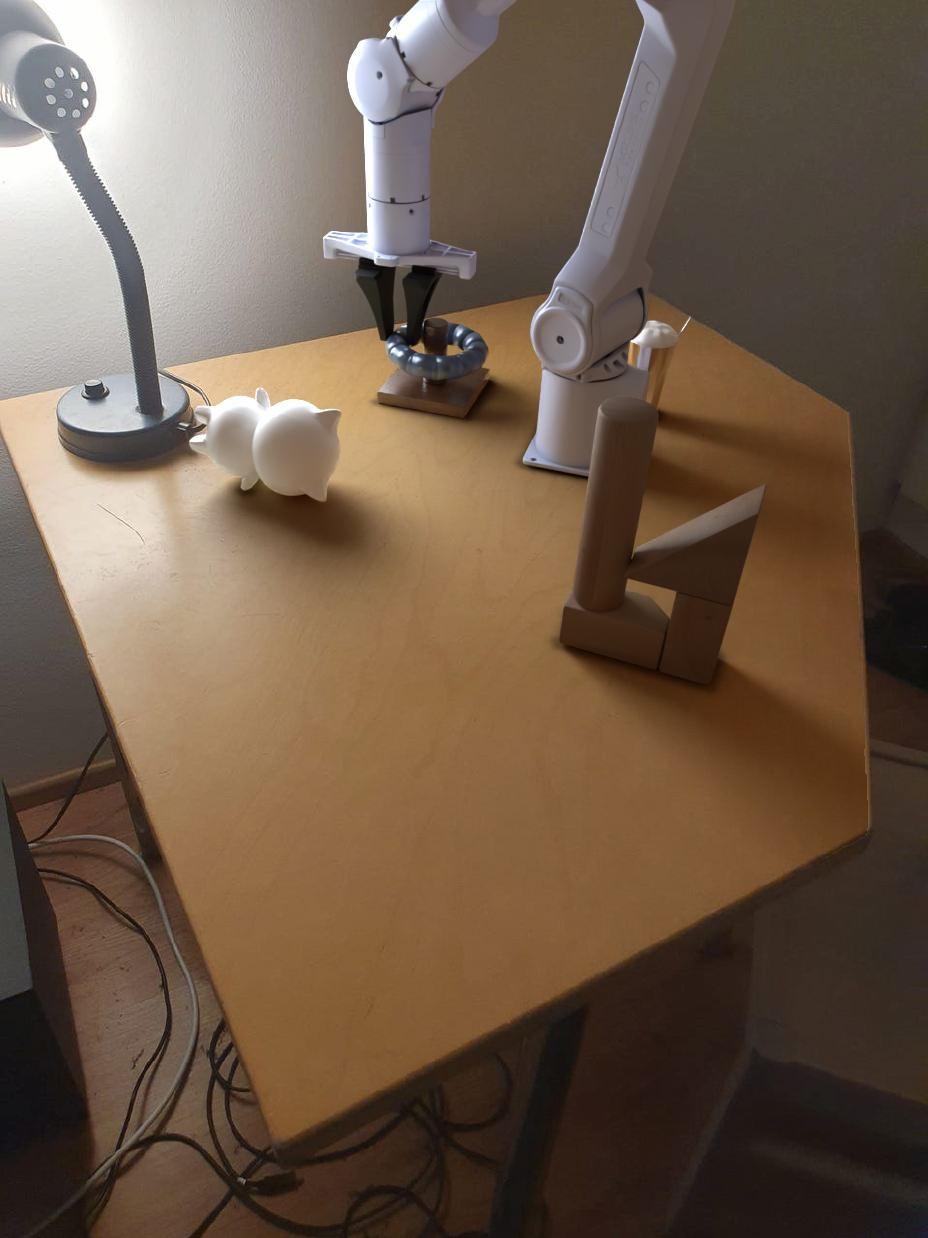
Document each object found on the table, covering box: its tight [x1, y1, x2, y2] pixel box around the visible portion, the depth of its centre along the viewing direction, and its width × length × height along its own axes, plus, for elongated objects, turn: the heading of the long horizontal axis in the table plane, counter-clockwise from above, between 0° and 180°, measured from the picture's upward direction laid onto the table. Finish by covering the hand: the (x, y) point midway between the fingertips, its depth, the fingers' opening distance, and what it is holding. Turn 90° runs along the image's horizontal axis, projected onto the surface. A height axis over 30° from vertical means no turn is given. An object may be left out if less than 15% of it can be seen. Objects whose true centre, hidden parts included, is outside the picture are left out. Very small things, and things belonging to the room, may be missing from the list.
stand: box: [376, 317, 491, 419], centre depth 91 cm, size 9×9×7 cm
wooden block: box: [558, 397, 768, 685], centre depth 58 cm, size 4×11×18 cm, turn 68°
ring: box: [384, 321, 490, 380], centre depth 90 cm, size 10×10×2 cm
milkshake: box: [628, 315, 691, 410], centre depth 88 cm, size 4×5×10 cm
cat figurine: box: [188, 387, 342, 503], centre depth 78 cm, size 9×11×12 cm
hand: (400, 339), depth 91 cm, fingers closed on ring, 2 cm apart
